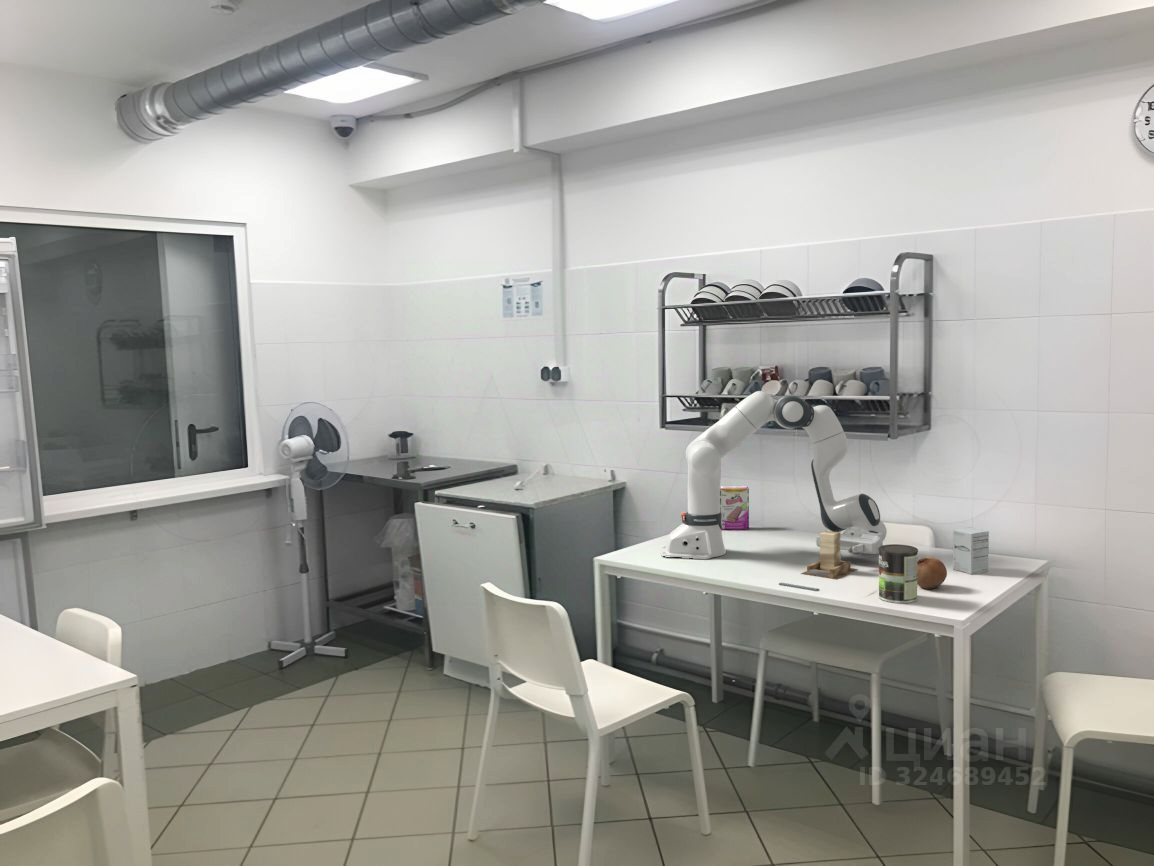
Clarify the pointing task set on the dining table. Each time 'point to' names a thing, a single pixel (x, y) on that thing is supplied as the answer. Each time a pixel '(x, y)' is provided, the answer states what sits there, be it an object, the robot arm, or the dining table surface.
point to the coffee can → (898, 573)
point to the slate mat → (799, 586)
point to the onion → (930, 573)
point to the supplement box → (970, 550)
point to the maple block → (829, 550)
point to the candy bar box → (734, 507)
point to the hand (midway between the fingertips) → (837, 547)
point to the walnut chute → (834, 572)
